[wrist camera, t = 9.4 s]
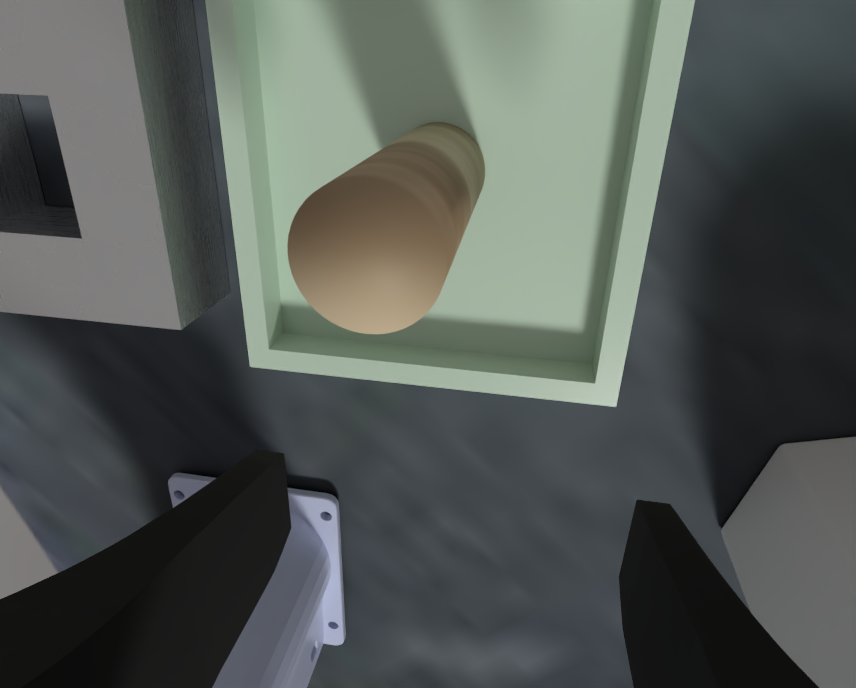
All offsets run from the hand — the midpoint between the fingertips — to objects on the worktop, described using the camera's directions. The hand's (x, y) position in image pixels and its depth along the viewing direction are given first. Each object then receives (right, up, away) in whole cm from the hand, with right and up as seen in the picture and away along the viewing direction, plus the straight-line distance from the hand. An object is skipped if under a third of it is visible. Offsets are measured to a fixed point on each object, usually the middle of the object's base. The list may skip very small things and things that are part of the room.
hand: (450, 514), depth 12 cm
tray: (0, +9, +7) cm, 12 cm away
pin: (0, +9, +7) cm, 11 cm away
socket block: (-13, +10, +9) cm, 19 cm away
